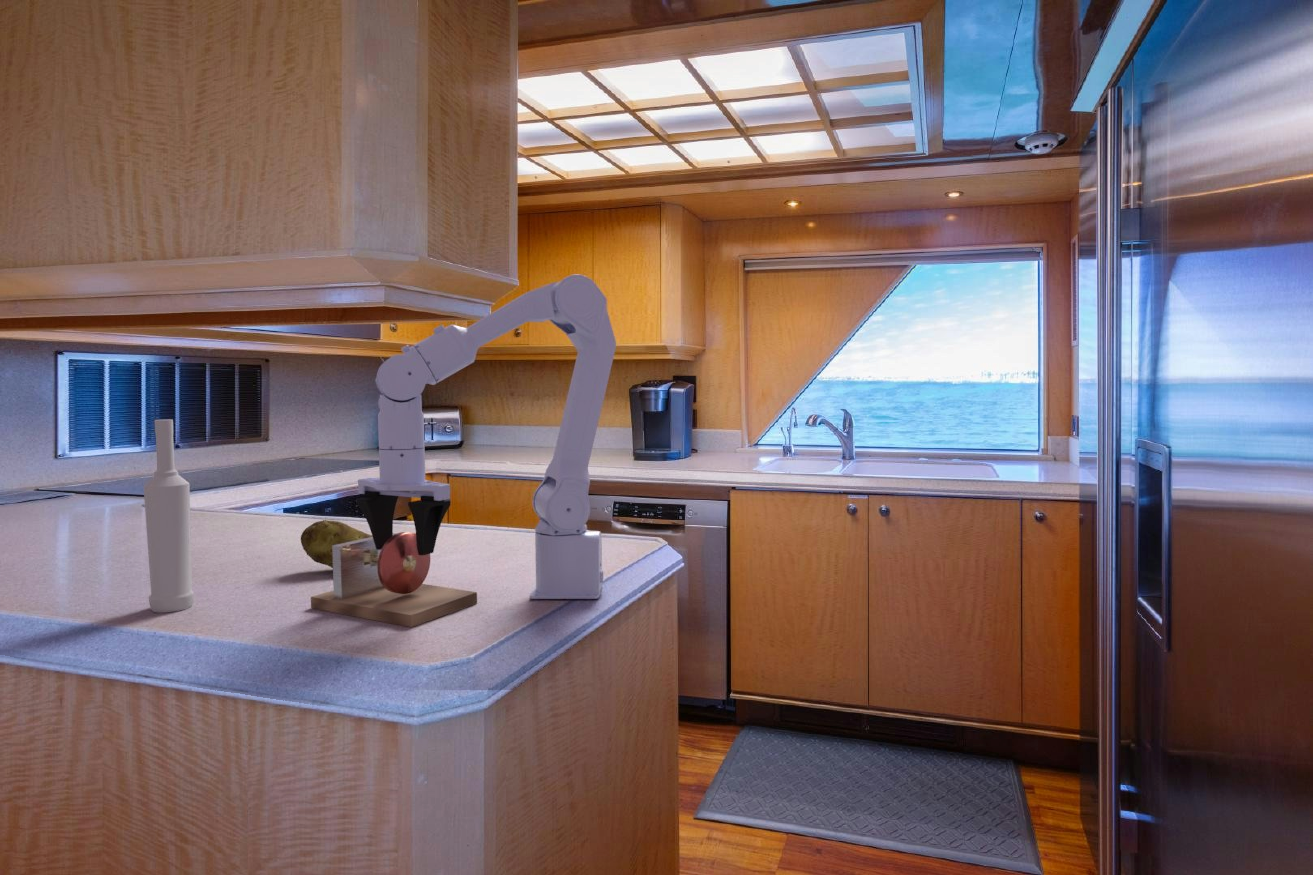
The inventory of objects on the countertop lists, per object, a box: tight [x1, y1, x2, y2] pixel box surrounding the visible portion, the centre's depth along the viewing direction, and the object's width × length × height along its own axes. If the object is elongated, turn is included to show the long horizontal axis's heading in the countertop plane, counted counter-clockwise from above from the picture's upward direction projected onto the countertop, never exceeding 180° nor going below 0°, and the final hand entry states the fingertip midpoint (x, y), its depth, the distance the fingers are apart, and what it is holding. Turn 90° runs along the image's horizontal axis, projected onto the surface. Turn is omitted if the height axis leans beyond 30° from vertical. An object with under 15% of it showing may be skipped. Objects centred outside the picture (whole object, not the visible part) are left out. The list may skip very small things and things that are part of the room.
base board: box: [310, 583, 478, 628], centre depth 108 cm, size 18×12×2 cm, turn 62°
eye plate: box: [332, 532, 398, 600], centre depth 110 cm, size 2×10×7 cm, turn 152°
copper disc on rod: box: [364, 531, 431, 594], centre depth 108 cm, size 11×8×8 cm
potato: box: [300, 519, 373, 569], centre depth 128 cm, size 8×13×8 cm, turn 83°
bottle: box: [143, 418, 195, 614], centre depth 106 cm, size 5×5×25 cm
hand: (404, 550), depth 106 cm, fingers open, 7 cm apart
